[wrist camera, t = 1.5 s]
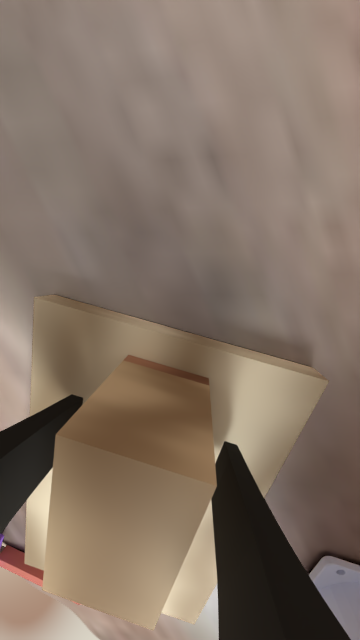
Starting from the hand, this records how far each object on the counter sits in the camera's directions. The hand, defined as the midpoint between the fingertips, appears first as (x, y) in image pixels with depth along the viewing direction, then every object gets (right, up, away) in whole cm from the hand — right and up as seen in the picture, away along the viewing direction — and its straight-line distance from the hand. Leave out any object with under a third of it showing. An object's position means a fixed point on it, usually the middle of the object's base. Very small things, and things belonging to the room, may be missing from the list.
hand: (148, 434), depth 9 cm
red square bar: (-10, -16, +7) cm, 21 cm away
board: (-1, -5, +3) cm, 6 cm away
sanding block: (0, 0, +1) cm, 1 cm away
